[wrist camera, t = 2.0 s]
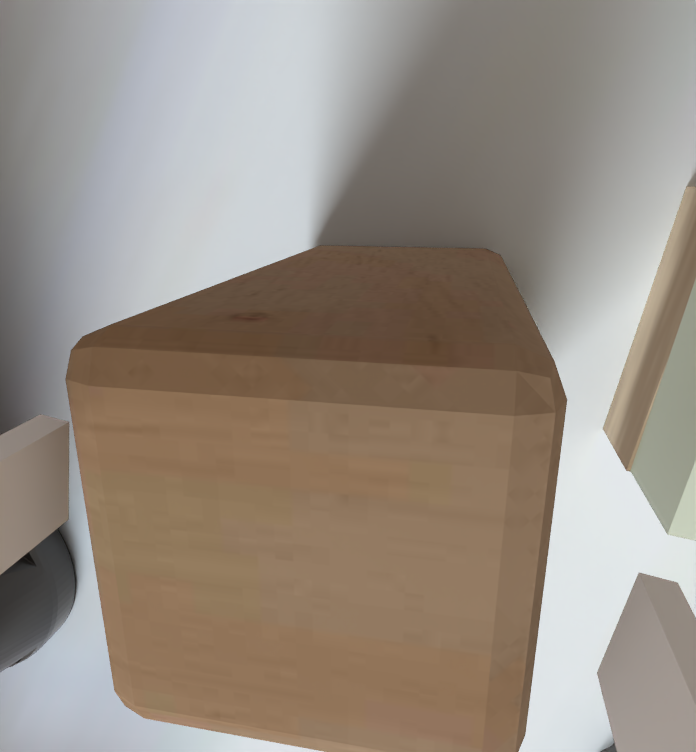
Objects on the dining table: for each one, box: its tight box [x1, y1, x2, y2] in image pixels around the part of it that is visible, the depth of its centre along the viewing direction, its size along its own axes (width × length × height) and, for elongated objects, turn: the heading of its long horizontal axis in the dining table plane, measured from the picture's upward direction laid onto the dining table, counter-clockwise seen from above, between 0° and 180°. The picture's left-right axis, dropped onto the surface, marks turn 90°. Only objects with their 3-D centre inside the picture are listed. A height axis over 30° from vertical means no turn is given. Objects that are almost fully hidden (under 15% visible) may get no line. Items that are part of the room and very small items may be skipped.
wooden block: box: [66, 245, 567, 752], centre depth 21 cm, size 10×10×20 cm
